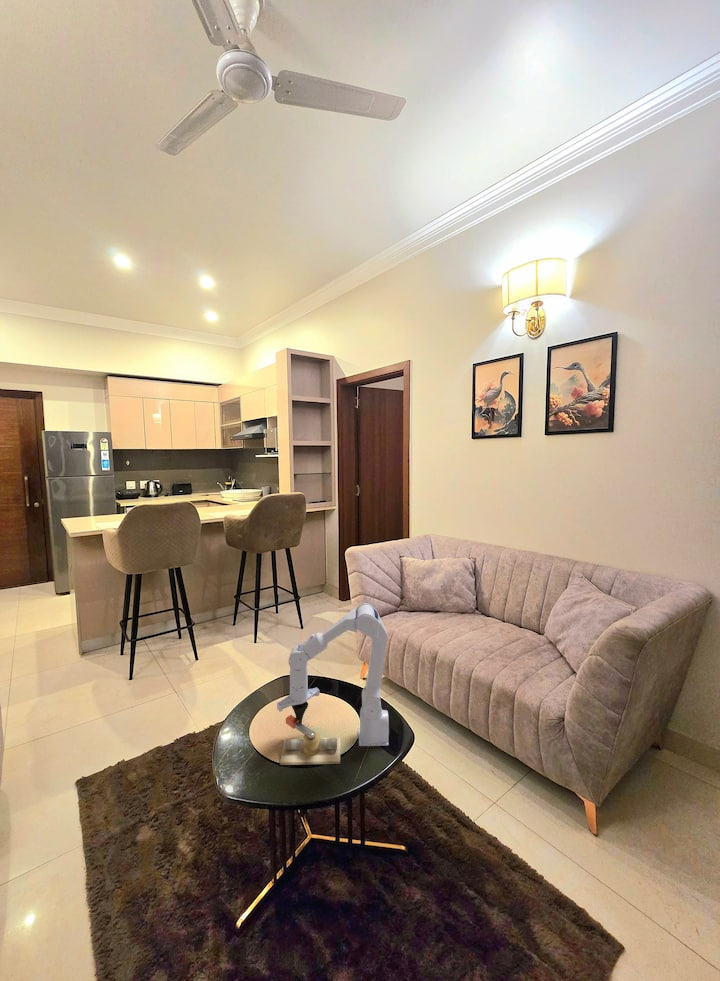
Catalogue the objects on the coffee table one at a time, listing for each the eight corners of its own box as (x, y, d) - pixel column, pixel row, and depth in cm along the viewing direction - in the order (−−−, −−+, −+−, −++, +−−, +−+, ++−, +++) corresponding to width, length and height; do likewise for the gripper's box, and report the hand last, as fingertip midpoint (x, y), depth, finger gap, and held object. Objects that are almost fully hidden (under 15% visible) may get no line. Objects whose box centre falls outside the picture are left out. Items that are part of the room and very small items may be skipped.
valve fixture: (340, 739, 130) (340, 726, 130) (340, 763, 120) (340, 748, 120) (284, 740, 129) (284, 726, 129) (279, 764, 119) (279, 749, 119)
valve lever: (316, 736, 124) (316, 731, 124) (311, 741, 123) (311, 735, 122) (291, 719, 132) (291, 714, 132) (285, 723, 130) (285, 718, 130)
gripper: (311, 670, 137) (311, 708, 139) (272, 685, 129) (273, 724, 130) (322, 680, 132) (322, 719, 133) (282, 696, 123) (282, 737, 124)
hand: (298, 722), depth 131 cm, fingers closed
